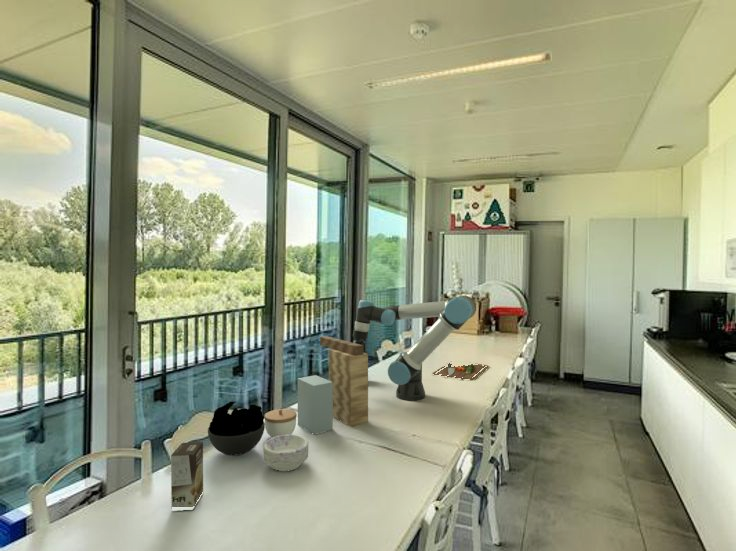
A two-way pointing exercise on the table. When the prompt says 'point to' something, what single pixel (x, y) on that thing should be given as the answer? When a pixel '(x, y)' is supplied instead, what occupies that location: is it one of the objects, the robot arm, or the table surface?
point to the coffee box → (187, 474)
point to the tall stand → (349, 386)
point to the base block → (315, 404)
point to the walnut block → (341, 345)
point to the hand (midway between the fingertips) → (353, 370)
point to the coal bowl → (236, 429)
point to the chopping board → (462, 371)
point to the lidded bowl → (280, 422)
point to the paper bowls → (285, 452)
